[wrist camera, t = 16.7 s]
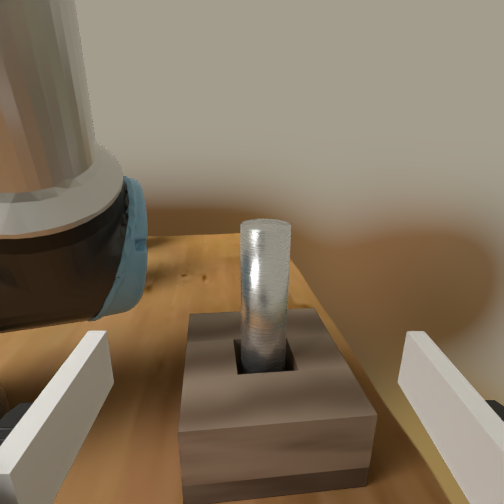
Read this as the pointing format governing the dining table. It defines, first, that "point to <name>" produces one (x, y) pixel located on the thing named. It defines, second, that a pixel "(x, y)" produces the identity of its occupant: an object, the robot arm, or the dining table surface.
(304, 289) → the dining table surface
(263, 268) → the steel pin
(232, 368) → the socket block
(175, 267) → the dining table surface
